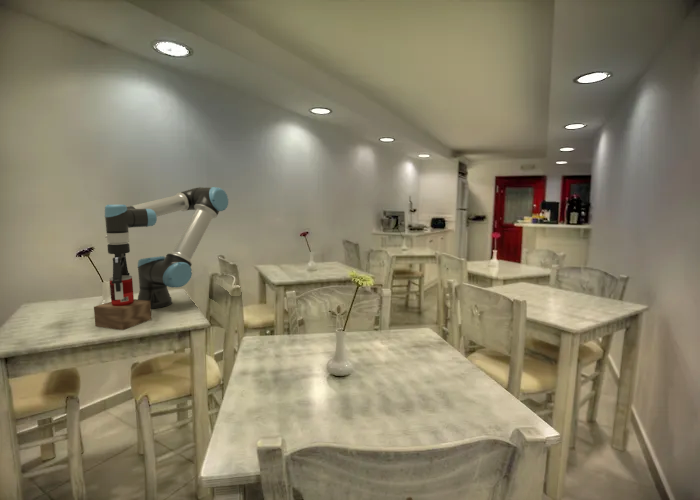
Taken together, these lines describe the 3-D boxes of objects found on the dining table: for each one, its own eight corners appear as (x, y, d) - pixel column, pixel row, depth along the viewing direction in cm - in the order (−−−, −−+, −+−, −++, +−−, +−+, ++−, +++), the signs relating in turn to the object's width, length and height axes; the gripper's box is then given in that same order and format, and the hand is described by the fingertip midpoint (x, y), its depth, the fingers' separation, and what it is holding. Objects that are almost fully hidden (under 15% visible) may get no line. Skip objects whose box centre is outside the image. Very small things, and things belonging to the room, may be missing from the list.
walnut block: (125, 316, 164) (124, 298, 163) (151, 319, 160) (150, 300, 159) (95, 326, 151) (93, 306, 150) (122, 330, 147) (121, 310, 146)
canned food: (138, 301, 158) (136, 275, 157) (125, 306, 150) (122, 279, 149) (121, 300, 159) (118, 275, 157) (107, 306, 151) (104, 279, 150)
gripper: (113, 240, 161) (117, 289, 164) (100, 247, 138) (105, 303, 141) (133, 239, 164) (136, 287, 167) (124, 246, 141) (128, 301, 144)
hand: (122, 295), depth 154 cm, fingers open, 13 cm apart
